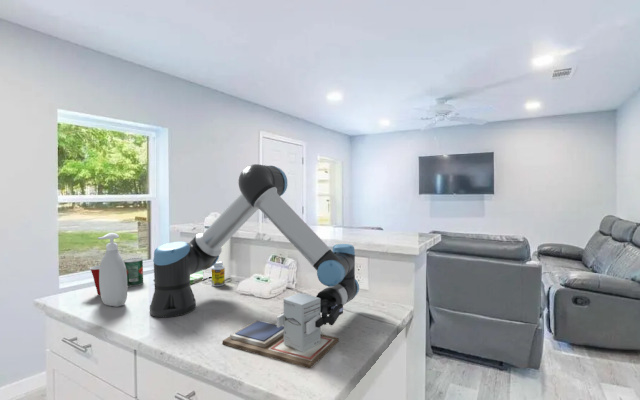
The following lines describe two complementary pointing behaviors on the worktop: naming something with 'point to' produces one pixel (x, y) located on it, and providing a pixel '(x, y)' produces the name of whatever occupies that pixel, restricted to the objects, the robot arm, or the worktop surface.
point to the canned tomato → (134, 271)
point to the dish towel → (195, 277)
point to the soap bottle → (112, 274)
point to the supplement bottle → (218, 274)
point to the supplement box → (300, 321)
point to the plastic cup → (96, 277)
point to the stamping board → (277, 344)
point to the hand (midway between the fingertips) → (292, 325)
